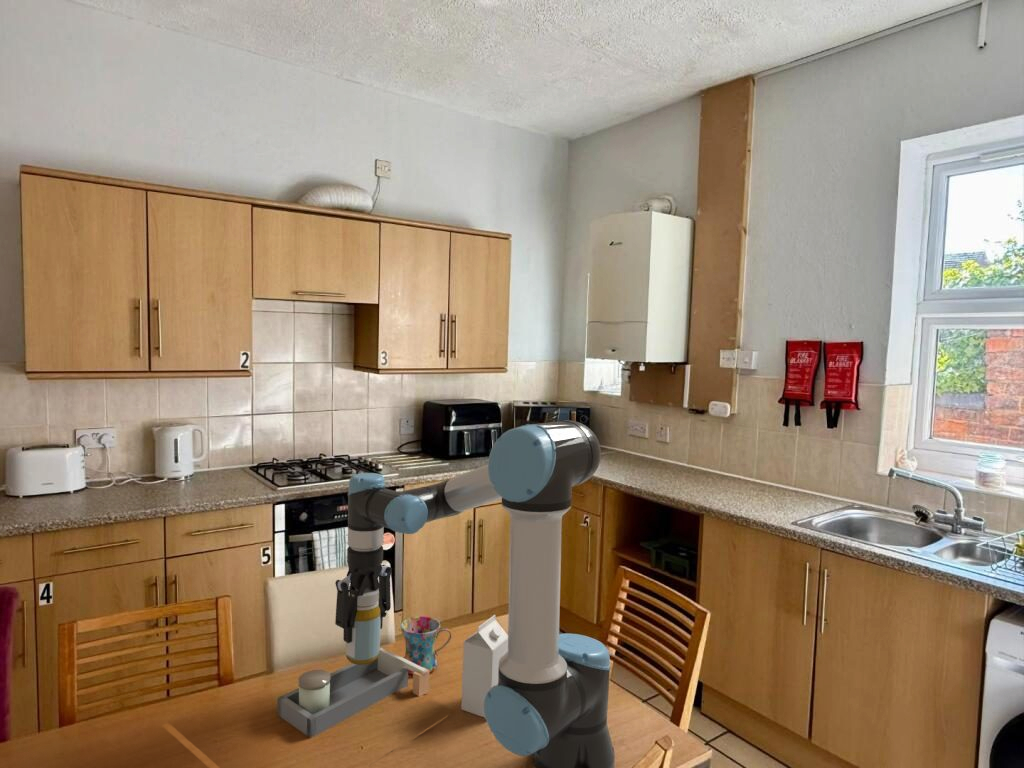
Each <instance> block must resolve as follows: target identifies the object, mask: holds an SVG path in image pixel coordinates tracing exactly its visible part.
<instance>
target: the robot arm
mask: <svg viewBox="0 0 1024 768" xmlns="http://www.w3.org/2000/svg"><path fill="white" fill-rule="evenodd" d="M597 437H598V436H597V435H596V434H595V433H594V431H592V429H590V428H589V427H588V426H587V425H586V424H583V423H581V422H578V421H575V420H567V419H565V420H557V421H551V422H542V423H541V422H540V423H531V424H530V423H529V424H528V423H527V424H525V425H524V424H523V425H520V426H517V427H514V428H511V429H508V430H506V431H505V432H503V433H502V434H501V435H500V436H499V438H497V439H496V441H494V444H493V446H492V447H491V450H490V452H489V456H488V462H487V464H485V465H483V466H480V467H477V468H474V469H473V470H470V471H467V472H463V473H462V474H460V475H456V476H454V477H451V478H448V479H446V480H443V481H441V482H438V483H434V484H430V485H427V486H421V487H420V486H419V487H416V488H410V489H406V490H400V491H397V490H393V489H389V488H387V487H386V479H385V476H383V474H380V473H375V472H363V473H362V472H361V473H356V474H353V475H352V476H351V477H350V479H349V483H348V484H349V485H348V492H347V511H348V512H347V545H348V547H347V554H346V557H347V558H346V562H347V563H346V564H347V567H348V571H347V573H346V576H345V577H344V578H343V579H337V580H336V581H335V587H336V592H337V593H336V606H335V619H334V620H335V621H334V624H335V626H337V627H339V628H341V629H343V641H344V642H345V655H346V654H347V655H349V656H351V657H352V658H355V630H356V628H354V623H355V617H356V614H357V611H358V610H357V607H358V606H357V599H358V596H363V594H364V590H365V589H367V588H369V589H372V590H374V591H376V590H377V589H378V590H379V600H378V601H379V603H378V605H379V608H380V630H382V629H383V625H384V624H383V623H384V622H383V619H384V618H385V617H387V611H388V612H389V611H390V610H391V606H392V605H391V576H392V571H393V568H392V567H391V566H388V565H385V564H382V563H383V562H384V561H383V560H384V546H383V545H384V530H385V529H384V528H386V529H389V530H391V531H393V532H396V533H399V534H406V535H413V534H416V533H418V532H419V531H420V530H422V528H423V527H424V526H425V525H426V523H430V522H432V521H433V522H434V521H437V520H440V519H444V518H448V517H454V516H457V515H459V514H462V513H464V512H465V511H469V510H472V509H475V508H477V507H481V506H484V505H488V504H490V503H492V502H496V501H499V500H501V507H502V508H503V509H504V510H505V511H507V513H508V514H509V516H510V522H509V523H510V525H509V526H510V527H509V529H510V530H509V531H510V533H509V568H508V569H509V572H508V573H509V574H508V575H509V578H508V579H509V580H508V581H509V583H508V617H507V618H508V623H507V624H508V625H507V626H508V627H507V629H508V631H507V635H508V652H506V653H505V654H504V655H503V656H502V657H501V658H500V660H499V670H498V685H496V686H493V687H492V688H491V689H490V691H489V692H488V693H487V694H486V697H485V700H484V713H485V718H484V719H485V720H486V721H485V722H486V723H487V726H488V728H489V731H490V732H491V733H492V734H493V736H494V737H495V739H496V741H497V742H499V744H500V745H501V746H502V747H503V748H505V749H506V750H507V751H509V752H511V753H513V754H514V755H517V756H521V757H522V756H523V757H526V756H531V755H533V761H534V765H535V767H536V768H615V759H616V758H615V757H616V755H615V753H616V752H615V748H614V745H613V741H612V738H611V735H610V734H611V733H610V730H609V726H608V709H609V707H608V706H609V688H610V687H609V686H610V670H611V668H612V667H611V664H610V663H611V662H610V660H611V659H610V656H611V655H610V651H609V650H608V648H607V647H606V645H605V644H604V643H603V642H601V641H599V640H597V639H595V638H592V637H590V636H587V635H583V634H578V633H567V632H565V633H560V610H561V609H560V606H561V605H560V603H561V573H562V572H561V564H562V527H563V526H562V525H563V523H562V521H563V516H564V515H565V514H566V513H567V512H568V511H569V510H570V509H571V508H572V497H573V496H572V491H573V487H576V486H579V485H581V484H583V483H585V482H586V481H588V480H589V479H591V478H592V477H593V476H594V474H595V473H596V472H597V470H598V468H599V465H600V462H601V459H602V458H601V457H602V451H601V445H600V442H599V440H598V438H597ZM356 589H357V590H356ZM352 595H355V596H354V597H353V596H352Z"/></svg>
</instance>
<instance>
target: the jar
mask: <svg viewBox="0 0 1024 768" xmlns="http://www.w3.org/2000/svg"><path fill="white" fill-rule="evenodd" d="M330 673H331V672H329V671H326V670H324V669H312V670H308V671H306V672H303V673H302V674H301V675H300V676H299V677H298V679H297V680H298V688H299V706H300V707H301V708H303V709H304V710H306V711H307V712H309V713H311V714H312V715H313V714H315V713H317V712H319V711H321V710H323V709H325V708H327V707H329V706H330Z"/></svg>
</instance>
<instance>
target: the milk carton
mask: <svg viewBox="0 0 1024 768" xmlns="http://www.w3.org/2000/svg"><path fill="white" fill-rule="evenodd" d="M462 644H463V648H462V649H463V650H462V674H461V675H462V677H461V679H462V681H461V710H463V711H465V712H468V713H470V714H473V715H476V716H479V717H482V718H484V719H486V718H485V713H484V700H485V697H486V694H487V693H488V692H489V691H490V689H491V688H492V687H493V686H496V685H498V670H499V660H500V658H501V657H502V656H503V655H504V654H505V653H506V652H508V633H506V631H505V630H504V629H503V627H502V626H501V625H500V624H499V622H498V621H497V620H496V614H494V615H492V616H491V617H490V618H488V619H487V620H485V621H484V622H483V623H481V624H480V625H479V626H477V631H476V632H475V633H473V634H472V635H470V636H469V637H467V638H466V639H465V640H464V641H463V643H462Z"/></svg>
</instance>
